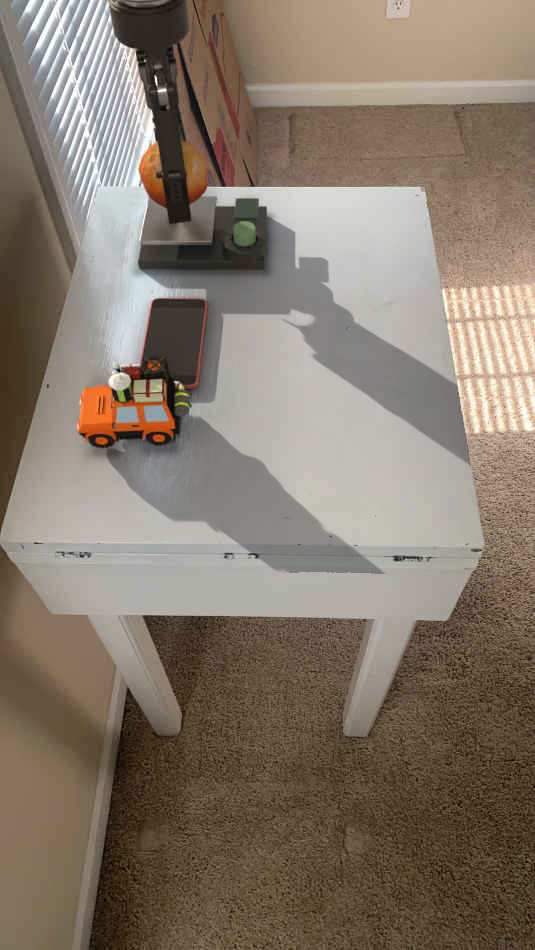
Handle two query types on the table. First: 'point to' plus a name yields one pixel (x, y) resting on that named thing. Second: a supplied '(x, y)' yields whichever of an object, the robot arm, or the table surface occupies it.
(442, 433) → the table surface
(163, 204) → the fruit
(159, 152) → the robot arm
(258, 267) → the scale
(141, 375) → the toy car
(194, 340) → the smartphone
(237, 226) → the tare button
